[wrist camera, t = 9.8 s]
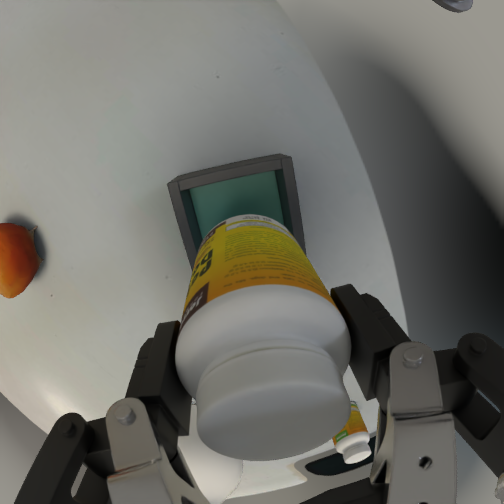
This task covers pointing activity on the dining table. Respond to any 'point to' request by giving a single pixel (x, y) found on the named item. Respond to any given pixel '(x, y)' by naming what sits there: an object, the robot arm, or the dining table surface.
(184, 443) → the vase
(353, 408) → the supplement bottle
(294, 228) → the rack
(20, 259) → the fruit
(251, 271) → the supplement bottle
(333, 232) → the dining table surface
